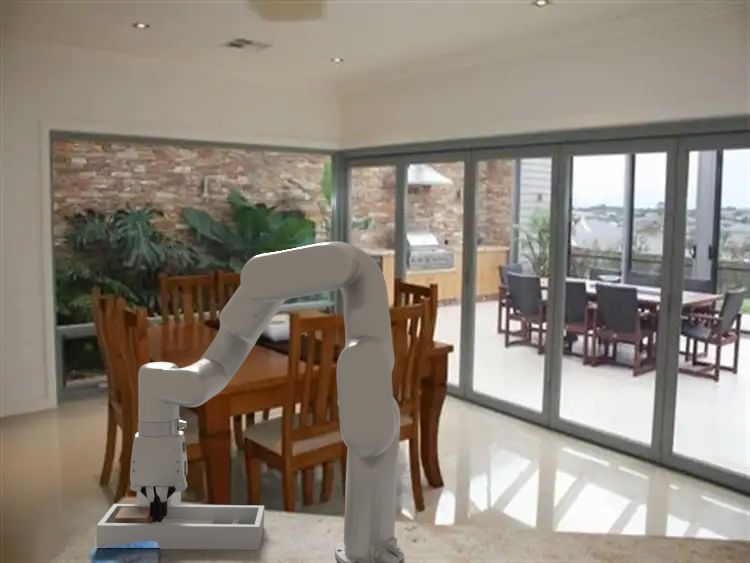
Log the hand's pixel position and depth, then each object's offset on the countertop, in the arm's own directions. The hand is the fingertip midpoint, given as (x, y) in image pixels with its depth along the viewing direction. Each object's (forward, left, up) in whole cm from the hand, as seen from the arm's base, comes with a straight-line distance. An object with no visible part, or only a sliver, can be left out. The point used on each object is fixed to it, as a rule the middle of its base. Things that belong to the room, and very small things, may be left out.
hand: (158, 519), depth 134 cm
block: (+2, +4, -2) cm, 5 cm away
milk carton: (+11, -4, -4) cm, 13 cm away
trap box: (-3, -4, -4) cm, 6 cm away
